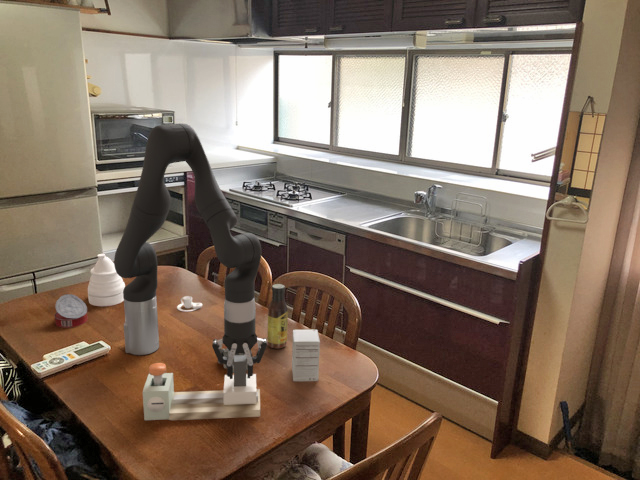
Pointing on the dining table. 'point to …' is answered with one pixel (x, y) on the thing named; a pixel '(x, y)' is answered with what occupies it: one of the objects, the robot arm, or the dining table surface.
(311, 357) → the supplement box
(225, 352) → the grey jagged ring
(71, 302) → the canned food
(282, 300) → the sauce bottle
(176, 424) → the dining table surface
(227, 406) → the rail board
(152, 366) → the plunger
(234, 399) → the carriage
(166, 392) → the cabinet
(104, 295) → the honey pot
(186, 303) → the teacup and saucer
